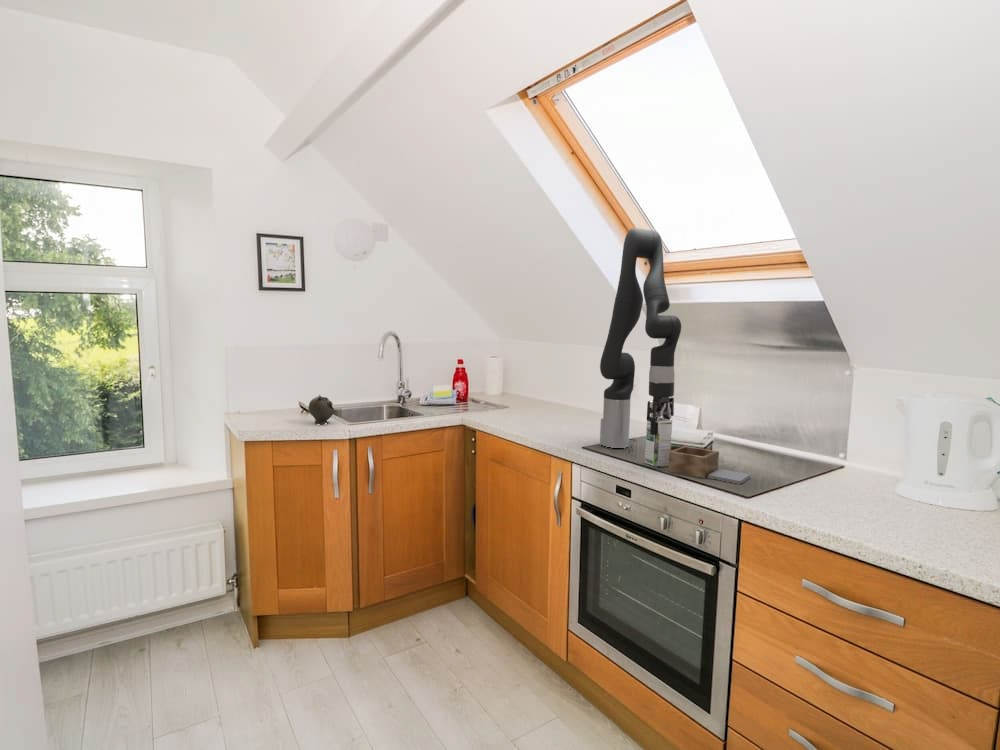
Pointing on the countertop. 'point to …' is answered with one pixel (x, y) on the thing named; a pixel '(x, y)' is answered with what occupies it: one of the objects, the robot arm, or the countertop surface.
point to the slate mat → (729, 476)
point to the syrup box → (658, 443)
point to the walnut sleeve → (693, 461)
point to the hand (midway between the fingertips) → (660, 432)
